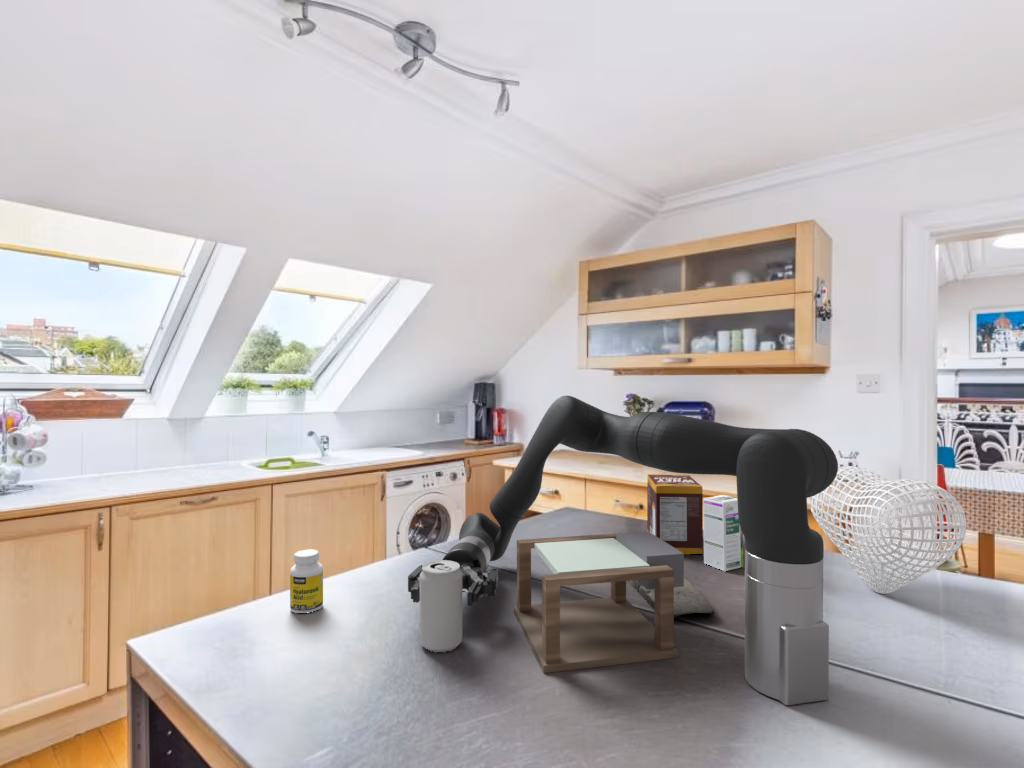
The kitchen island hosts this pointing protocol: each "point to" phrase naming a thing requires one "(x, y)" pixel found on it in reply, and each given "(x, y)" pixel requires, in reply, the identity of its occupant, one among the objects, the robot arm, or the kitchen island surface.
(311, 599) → the supplement bottle
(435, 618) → the beverage can
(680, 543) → the supplement box
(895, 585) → the heart
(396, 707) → the kitchen island surface
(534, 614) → the wooden rack
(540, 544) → the trapdoor plate
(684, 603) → the stone slab
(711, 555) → the syrup box
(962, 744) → the kitchen island surface
